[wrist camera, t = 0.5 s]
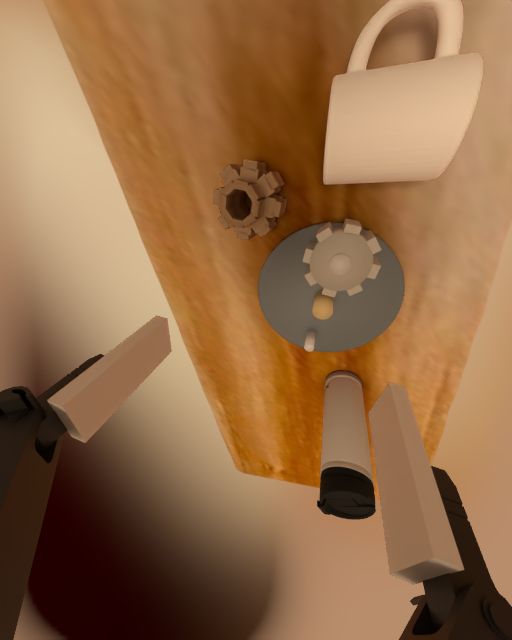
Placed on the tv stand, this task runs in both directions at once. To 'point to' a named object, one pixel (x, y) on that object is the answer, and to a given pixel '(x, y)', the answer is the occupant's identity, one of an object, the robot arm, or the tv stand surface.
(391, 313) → the carrier
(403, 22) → the tv stand surface
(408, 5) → the mug
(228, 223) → the oak gear
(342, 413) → the travel mug
